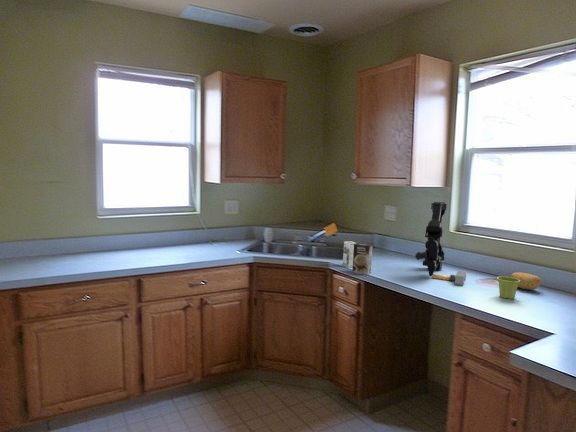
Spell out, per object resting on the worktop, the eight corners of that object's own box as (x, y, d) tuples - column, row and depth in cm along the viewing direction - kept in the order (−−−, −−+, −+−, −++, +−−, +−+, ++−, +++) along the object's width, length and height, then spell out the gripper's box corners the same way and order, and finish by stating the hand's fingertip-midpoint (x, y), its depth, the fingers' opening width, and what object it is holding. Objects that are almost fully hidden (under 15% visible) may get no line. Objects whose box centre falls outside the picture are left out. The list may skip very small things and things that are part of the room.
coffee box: (351, 272, 227) (353, 244, 226) (355, 270, 233) (357, 242, 231) (368, 275, 223) (369, 246, 221) (371, 272, 229) (372, 244, 227)
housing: (454, 284, 210) (455, 275, 209) (457, 278, 222) (458, 270, 222) (463, 285, 208) (463, 276, 208) (465, 279, 220) (466, 271, 220)
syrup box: (342, 265, 245) (343, 241, 243) (351, 264, 247) (352, 240, 246) (346, 267, 240) (348, 242, 238) (355, 266, 242) (357, 242, 240)
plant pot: (490, 295, 194) (492, 277, 193) (505, 293, 197) (507, 275, 196) (507, 301, 185) (509, 282, 184) (523, 299, 188) (525, 280, 187)
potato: (517, 284, 214) (519, 269, 213) (544, 292, 201) (546, 276, 201) (505, 286, 210) (506, 270, 209) (531, 294, 197) (533, 277, 196)
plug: (431, 278, 220) (432, 272, 220) (432, 277, 223) (433, 271, 223) (458, 282, 214) (458, 276, 214) (458, 281, 217) (459, 275, 217)
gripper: (420, 243, 232) (418, 270, 234) (413, 248, 216) (411, 277, 218) (441, 245, 227) (439, 273, 229) (435, 251, 211) (433, 281, 212)
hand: (430, 276), depth 222 cm, fingers closed, pressing on plug
